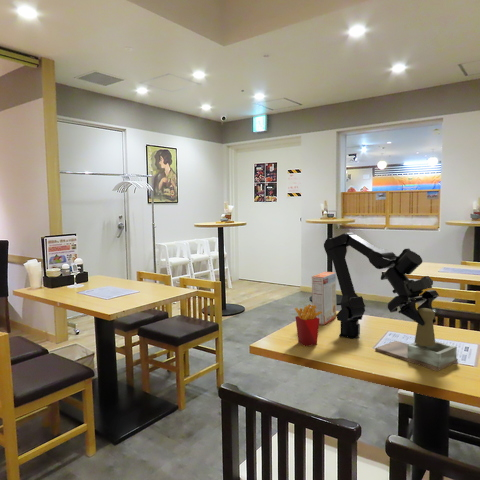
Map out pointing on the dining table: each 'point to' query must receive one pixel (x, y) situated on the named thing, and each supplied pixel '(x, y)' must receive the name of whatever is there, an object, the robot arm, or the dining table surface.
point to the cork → (425, 328)
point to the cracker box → (324, 296)
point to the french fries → (307, 325)
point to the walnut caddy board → (422, 354)
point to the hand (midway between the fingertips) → (429, 323)
